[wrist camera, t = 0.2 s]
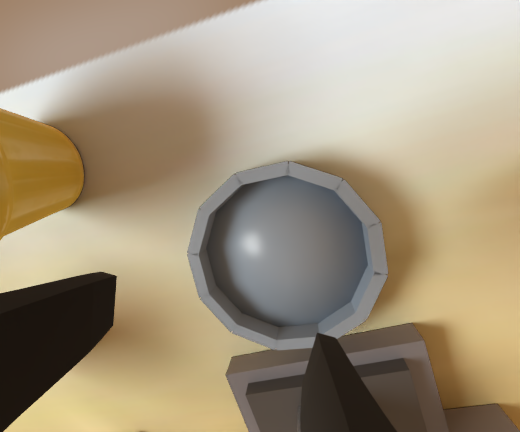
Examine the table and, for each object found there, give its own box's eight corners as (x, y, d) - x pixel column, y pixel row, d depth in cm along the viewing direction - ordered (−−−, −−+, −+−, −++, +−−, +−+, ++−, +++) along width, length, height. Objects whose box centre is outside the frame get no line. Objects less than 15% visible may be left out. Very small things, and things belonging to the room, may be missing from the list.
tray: (335, 351, 19) (339, 375, 17) (186, 294, 20) (172, 309, 18) (406, 198, 16) (422, 204, 14) (227, 140, 17) (216, 137, 15)
